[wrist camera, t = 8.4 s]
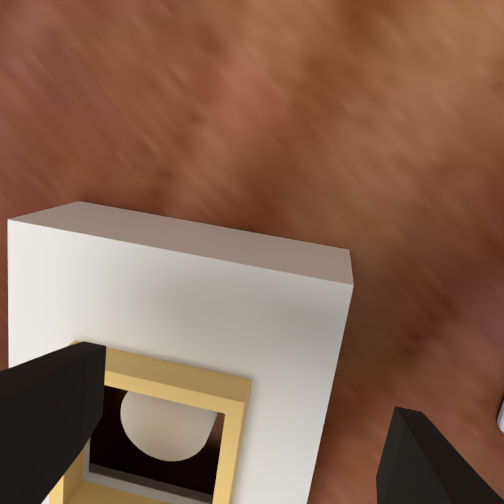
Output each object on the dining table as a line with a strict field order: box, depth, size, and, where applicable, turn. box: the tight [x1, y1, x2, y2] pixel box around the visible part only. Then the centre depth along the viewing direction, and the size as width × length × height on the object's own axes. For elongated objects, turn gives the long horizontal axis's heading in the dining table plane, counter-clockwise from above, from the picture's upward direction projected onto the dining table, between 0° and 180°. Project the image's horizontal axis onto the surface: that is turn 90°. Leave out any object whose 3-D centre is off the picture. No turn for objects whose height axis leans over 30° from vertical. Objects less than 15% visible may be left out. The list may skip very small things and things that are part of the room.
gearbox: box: [8, 201, 354, 504], centre depth 20 cm, size 16×16×6 cm
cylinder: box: [121, 391, 219, 461], centre depth 21 cm, size 4×4×4 cm
